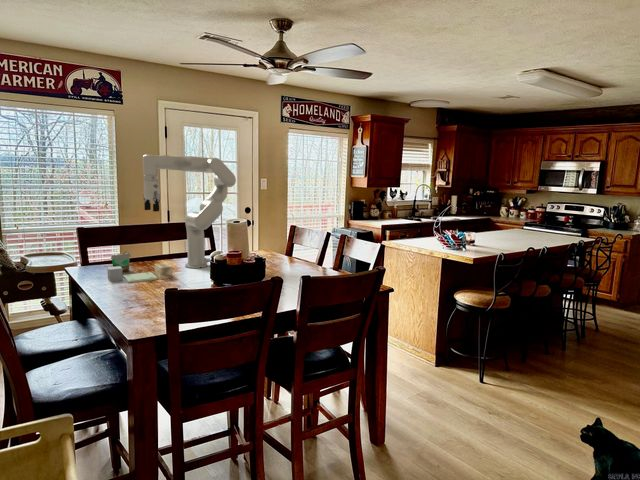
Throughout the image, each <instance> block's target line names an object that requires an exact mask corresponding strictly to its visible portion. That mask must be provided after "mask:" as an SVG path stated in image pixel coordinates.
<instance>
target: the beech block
mask: <svg viewBox="0 0 640 480" xmlns="http://www.w3.org/2000/svg"><path fill="white" fill-rule="evenodd" d="M154 275H155V276H156V277H157V278H158V279H159V280H165V279H172V278H173V266H171V265H170V264H169V263H168V262H157V263H154Z"/></svg>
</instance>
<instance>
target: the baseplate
mask: <svg viewBox="0 0 640 480" xmlns="http://www.w3.org/2000/svg"><path fill="white" fill-rule="evenodd" d="M158 279H159V277H157V276H156V275H155V273H153V272H151V271H148V272H138V273H130V274H123V280H125V281H126V283H128V284H131V283H137V282H146V281H155V280H158Z"/></svg>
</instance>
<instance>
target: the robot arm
mask: <svg viewBox="0 0 640 480" xmlns="http://www.w3.org/2000/svg"><path fill="white" fill-rule="evenodd" d="M159 170H167V171H169V170H170V171H182V172H190V173H191V172H192V173H208V174H209V173H210V174H214V177H213V180H214V182H213V184H214V188H213V190H212V191H211V193H210V194H209V195H208V196H207V197H206V198H205V199H204V200H203V201H202V202H201V203H200V204H199V211H200V212H199V211H191V212H189V213H187V215H186V216H185V219H184V220H185V222H184V223H185V224H184V225H185V228H186V229H185V230H186V242H187V243H186V244H187V248H186V251H187V263H185V264H184V267H185V268H189V269H201V268H200V267H202V268H205V267H208V263H211V262H210V259H211V258H207V257H205V231H204V230H207V229H208V228H209V227H211V225H213V224H214V222H215V221H216V220H217V219H219V217H220V216H221V215H222V213H223V209H224V207H223V202H225V200H226V199H227V196H228V192H229V191H228V190H229V188H232V187H234V185H235V184H236V183H237V178H236V176H235V174H234V173H233V172H232V171H231V169H230V168H229V167H228V166H227V165H226V163H224V162H223V161H222V160H221V159H220V158H218V157H204V156H192V155H191V156H189V155H185V156H171V155H168V154H161V155H157V154H156V155H155V154H144V155H143V156H142V175H143V176H142V177H143V178H142V179H143V194H142V197H143V203H144V204H143V205H144V207H143V208H144V211H150V210H152V212H160V201H161V188H160V182H159V181H160V180H159ZM151 201H152V203H153V204H152V207H151ZM151 208H152V209H151Z"/></svg>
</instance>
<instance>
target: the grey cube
mask: <svg viewBox="0 0 640 480" xmlns="http://www.w3.org/2000/svg"><path fill="white" fill-rule="evenodd" d="M106 271H107V279H108V281H109V282H115V281H122V280H124V278H123V275H124V274H123V272H122V267H121V266H116V267H113V266H109V267H108V266H107V270H106Z"/></svg>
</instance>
